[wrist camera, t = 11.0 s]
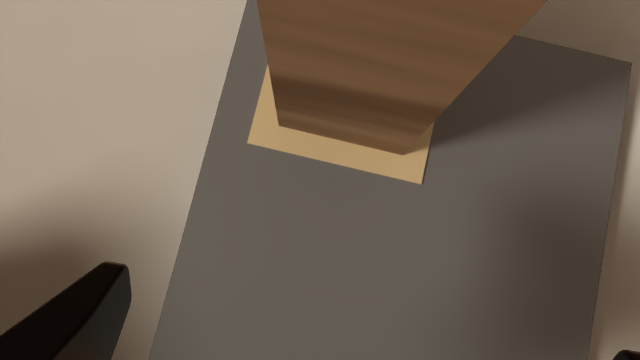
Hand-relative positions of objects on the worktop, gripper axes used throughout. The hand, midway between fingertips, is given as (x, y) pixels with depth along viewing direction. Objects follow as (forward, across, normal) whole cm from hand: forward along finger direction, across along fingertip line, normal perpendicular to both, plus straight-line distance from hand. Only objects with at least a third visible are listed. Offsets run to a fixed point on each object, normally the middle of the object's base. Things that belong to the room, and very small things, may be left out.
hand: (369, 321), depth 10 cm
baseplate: (+11, -2, +6) cm, 12 cm away
